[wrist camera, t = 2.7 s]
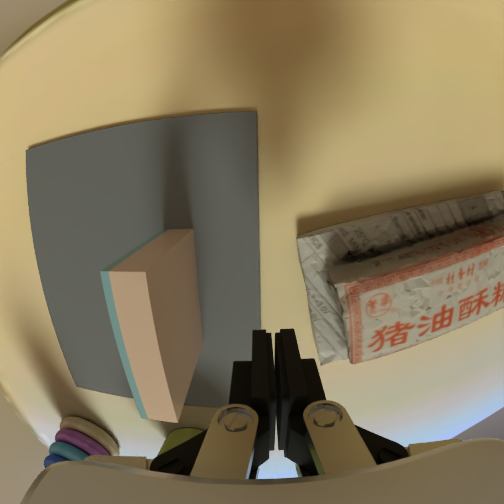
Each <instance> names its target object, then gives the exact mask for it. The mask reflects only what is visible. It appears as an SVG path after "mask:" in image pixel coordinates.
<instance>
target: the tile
mask: <svg viewBox="0 0 504 504" xmlns="http://www.w3.org/2000/svg"><path fill="white" fill-rule="evenodd" d="M100 273H101V279H102V284H103V289H104V294H105V299H106V303H107V308H108V312H109V316H110V321H111V325H112V328H113V332H114V336H115V340H116V343H117V347H118V351H119V354H120V357H121V361H122V364H123V367H124V370H125V374H126V377H127V380H128V383H129V386H130V388H131V391H132V394H133V397H134V400H135V402H136V405H137V408H138V410H139V413H140V416H141V418H146V419H152V420H159V421H166V422H174V423H178V421H179V418H180V415H181V412H182V408H183V405H184V402H185V399H186V396H187V392H188V389H189V386H190V383H191V380H192V376H193V373H194V370H195V367H196V364H197V361H198V358H199V354H200V351H201V348H202V345H203V342H204V336H203V327H202V319H201V309H200V300H199V289H198V279H197V267H196V255H195V241H194V228H193V229H163V230H162V231H160V232H159V233H157V234H155V235H154V236H152V237H151V238H149V239H148V240H146V241H145V242H143V243H141V244H140V245H138V246H137V247H135V248H134V249H132V250H131V251H129V252H128V253H126V254H125V255H123V256H122V257H120V258H119V259H117V260H116V261H114V262H113V263H112V264H110V265H109V266H107V267H106V268H104V269H103V270H101V271H100Z"/></svg>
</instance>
